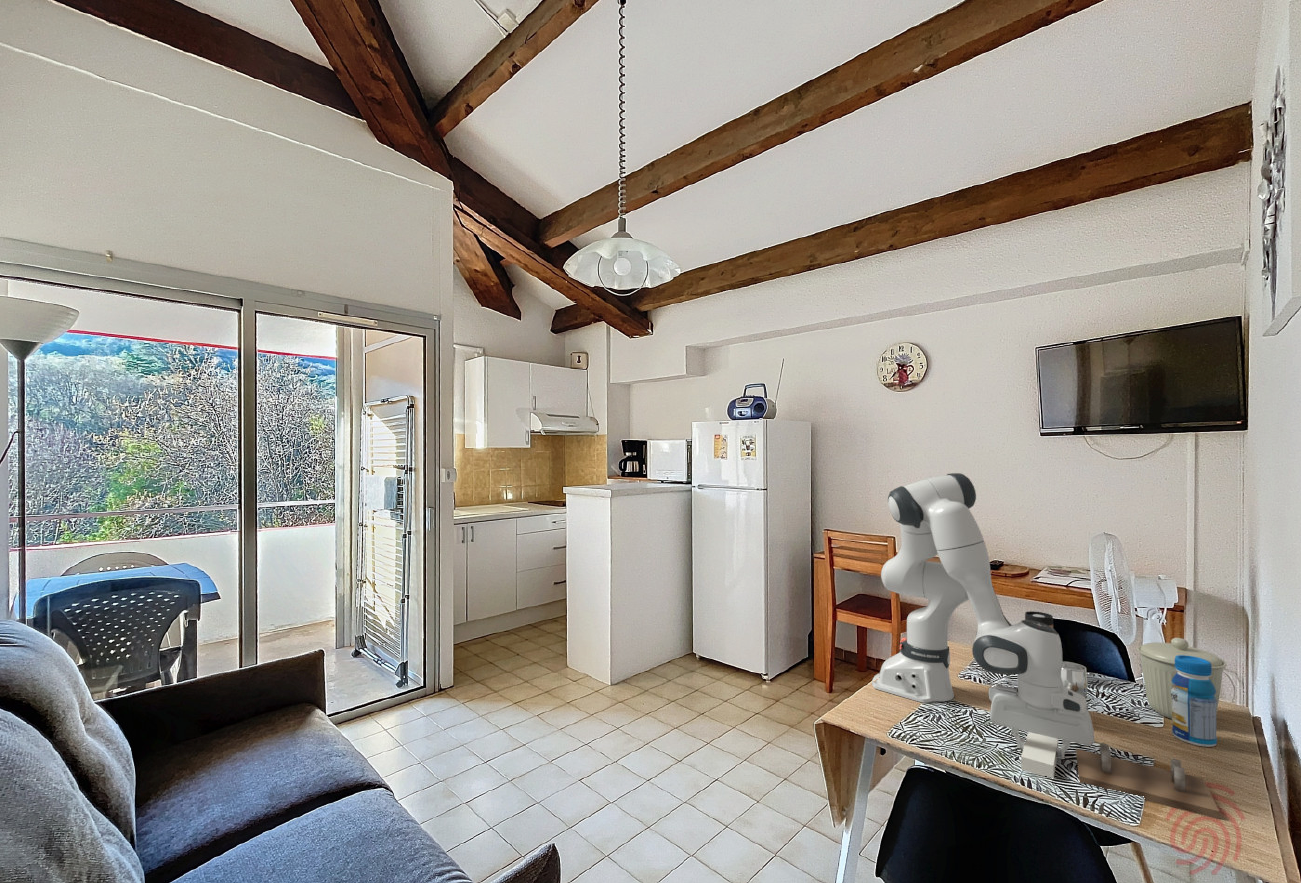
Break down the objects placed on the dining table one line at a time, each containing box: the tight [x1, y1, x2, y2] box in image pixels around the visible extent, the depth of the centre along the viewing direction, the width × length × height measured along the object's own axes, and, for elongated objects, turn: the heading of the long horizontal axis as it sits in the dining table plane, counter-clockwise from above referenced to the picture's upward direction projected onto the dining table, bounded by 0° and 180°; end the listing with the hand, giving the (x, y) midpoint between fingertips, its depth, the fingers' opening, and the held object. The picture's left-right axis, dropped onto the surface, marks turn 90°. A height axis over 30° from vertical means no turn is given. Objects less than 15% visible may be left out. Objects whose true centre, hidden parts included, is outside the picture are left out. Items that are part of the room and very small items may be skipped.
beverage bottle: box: [1171, 655, 1218, 748], centre depth 144 cm, size 8×8×20 cm
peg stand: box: [1075, 742, 1221, 820], centre depth 125 cm, size 22×14×6 cm, turn 56°
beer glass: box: [1061, 661, 1089, 701], centre depth 153 cm, size 7×7×15 cm
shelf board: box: [1020, 732, 1059, 780], centre depth 135 cm, size 6×16×3 cm, turn 142°
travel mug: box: [1024, 610, 1054, 629], centre depth 185 cm, size 8×8×20 cm
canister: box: [1136, 637, 1227, 720], centre depth 158 cm, size 18×18×21 cm
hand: (1040, 752), depth 135 cm, fingers closed on shelf board, 6 cm apart
